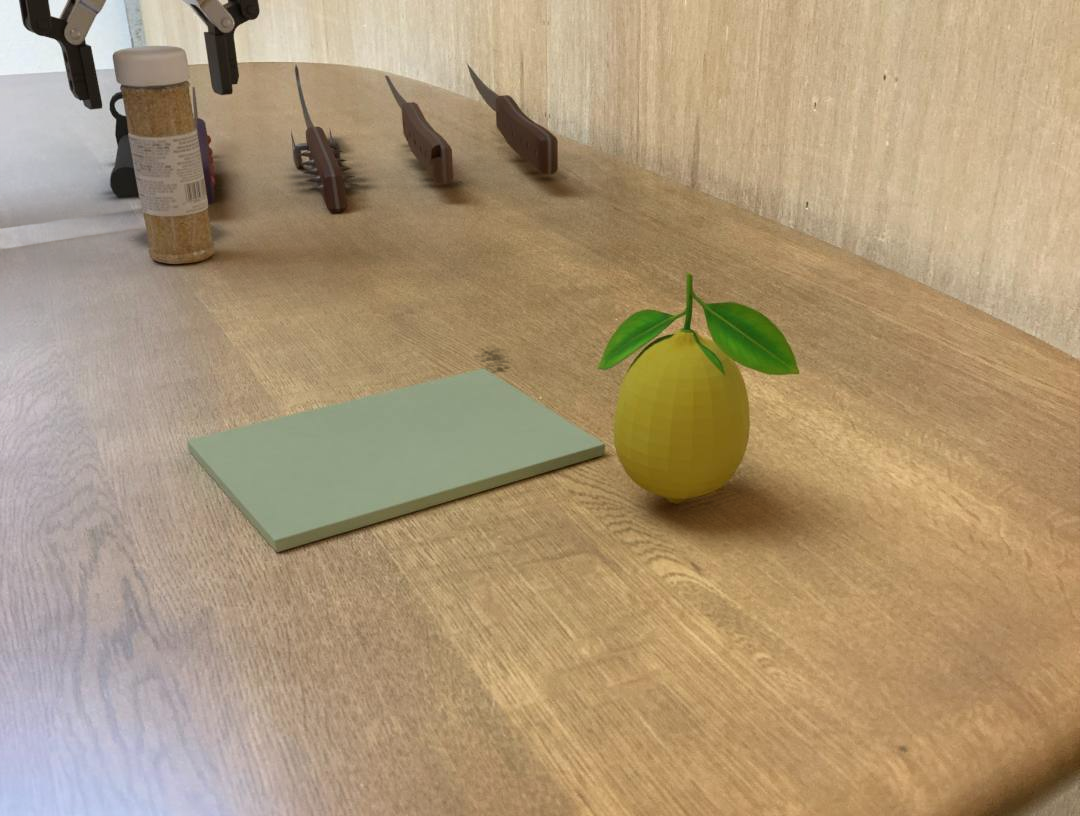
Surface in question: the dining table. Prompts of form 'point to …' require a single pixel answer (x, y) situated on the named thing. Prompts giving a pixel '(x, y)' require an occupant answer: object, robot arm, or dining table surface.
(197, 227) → the sprinkles bottle
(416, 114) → the knife set
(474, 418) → the mat
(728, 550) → the dining table surface
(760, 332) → the lemon
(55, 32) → the robot arm
